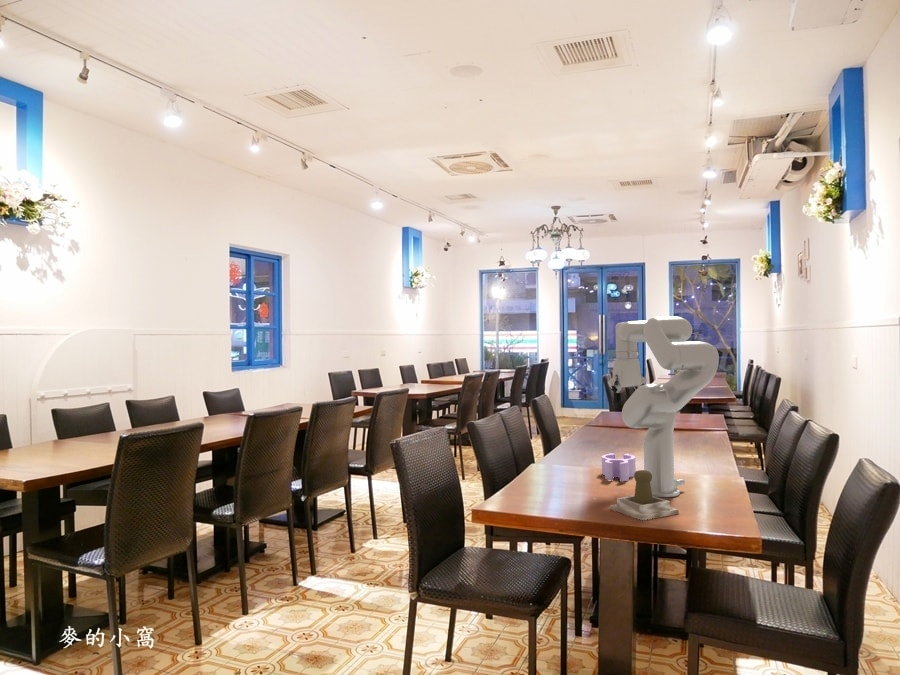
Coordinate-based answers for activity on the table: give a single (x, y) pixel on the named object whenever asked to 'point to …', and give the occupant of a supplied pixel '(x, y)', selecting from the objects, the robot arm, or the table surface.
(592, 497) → the table surface
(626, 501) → the socket board
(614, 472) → the clip
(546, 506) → the table surface
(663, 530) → the table surface
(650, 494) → the cork
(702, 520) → the table surface
